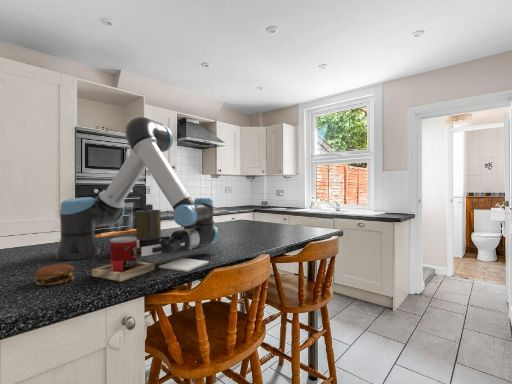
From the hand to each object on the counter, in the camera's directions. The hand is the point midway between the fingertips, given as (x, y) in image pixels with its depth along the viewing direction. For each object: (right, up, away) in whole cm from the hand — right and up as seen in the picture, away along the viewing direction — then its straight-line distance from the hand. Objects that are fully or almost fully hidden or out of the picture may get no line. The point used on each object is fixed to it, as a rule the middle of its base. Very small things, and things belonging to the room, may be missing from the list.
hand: (130, 249), depth 92 cm
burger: (-18, -8, -9) cm, 22 cm away
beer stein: (+12, -7, +44) cm, 47 cm away
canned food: (-2, -8, -1) cm, 8 cm away
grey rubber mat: (+16, -7, +7) cm, 19 cm away
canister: (-6, -7, +33) cm, 35 cm away
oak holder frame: (-2, -7, -1) cm, 8 cm away
